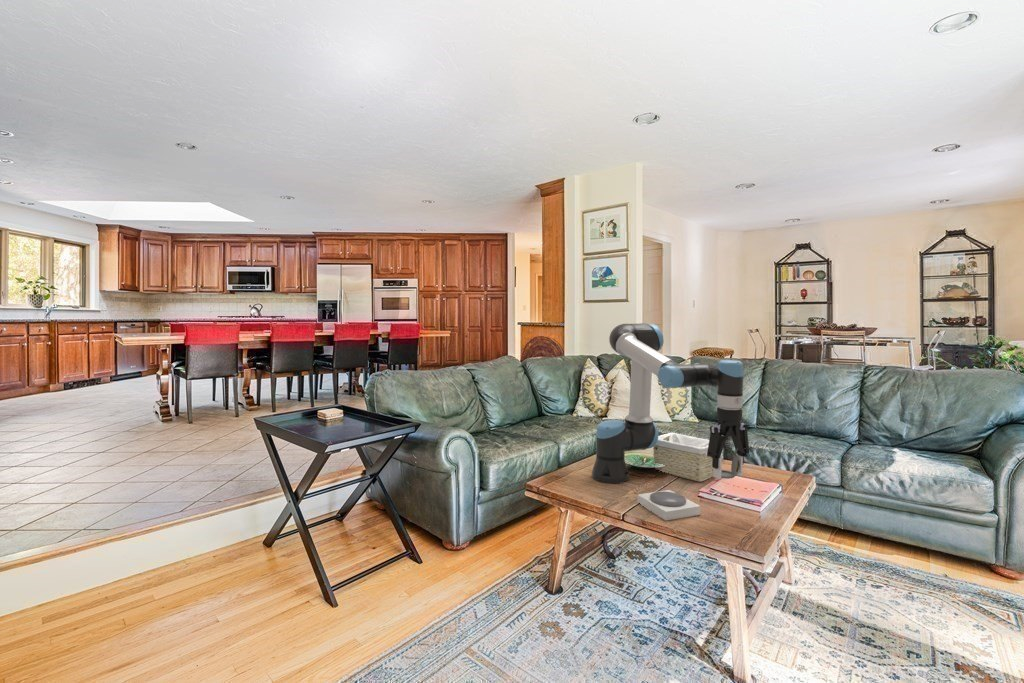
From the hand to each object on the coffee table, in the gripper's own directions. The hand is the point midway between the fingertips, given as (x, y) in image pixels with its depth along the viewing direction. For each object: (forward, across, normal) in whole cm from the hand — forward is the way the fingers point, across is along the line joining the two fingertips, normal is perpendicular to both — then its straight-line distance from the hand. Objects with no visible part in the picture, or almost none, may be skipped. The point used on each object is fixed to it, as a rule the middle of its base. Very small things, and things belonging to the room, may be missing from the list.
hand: (727, 476), depth 153 cm
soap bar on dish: (+15, -12, +15) cm, 24 cm away
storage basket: (+16, +20, +44) cm, 50 cm away
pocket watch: (0, 0, 0) cm, 0 cm away
